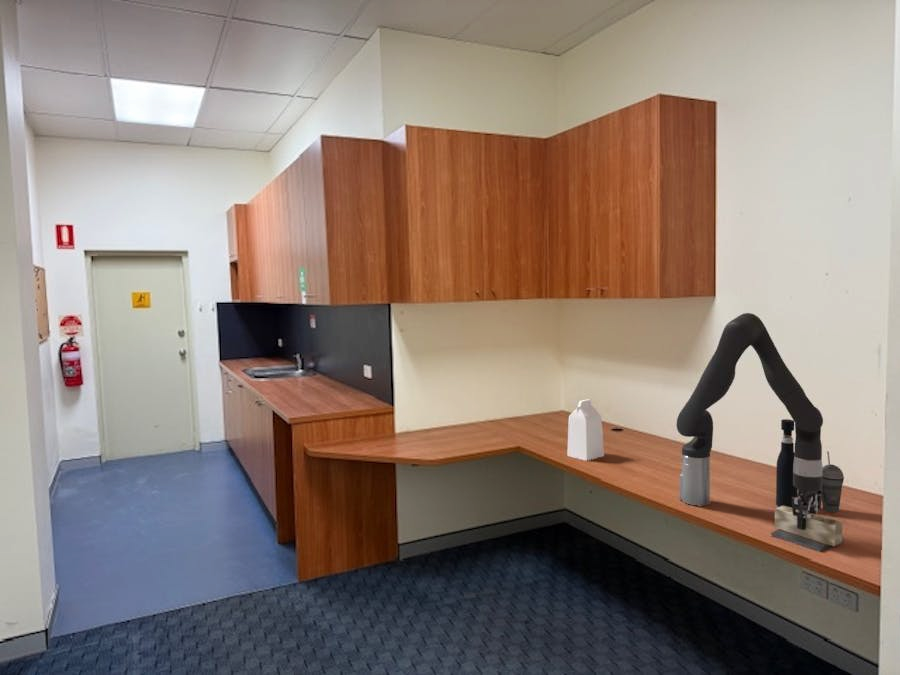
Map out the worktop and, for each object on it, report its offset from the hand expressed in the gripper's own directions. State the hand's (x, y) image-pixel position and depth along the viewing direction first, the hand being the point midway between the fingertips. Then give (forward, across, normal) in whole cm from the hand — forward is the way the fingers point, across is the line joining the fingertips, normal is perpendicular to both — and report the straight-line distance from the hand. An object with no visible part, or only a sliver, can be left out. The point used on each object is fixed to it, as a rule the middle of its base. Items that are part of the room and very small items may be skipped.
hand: (806, 526), depth 180 cm
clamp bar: (+2, 0, 0) cm, 2 cm away
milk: (+4, +15, +104) cm, 105 cm away
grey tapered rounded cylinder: (+4, +29, +6) cm, 30 cm away
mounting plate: (+4, 0, 0) cm, 4 cm away
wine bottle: (+4, +22, +17) cm, 28 cm away
